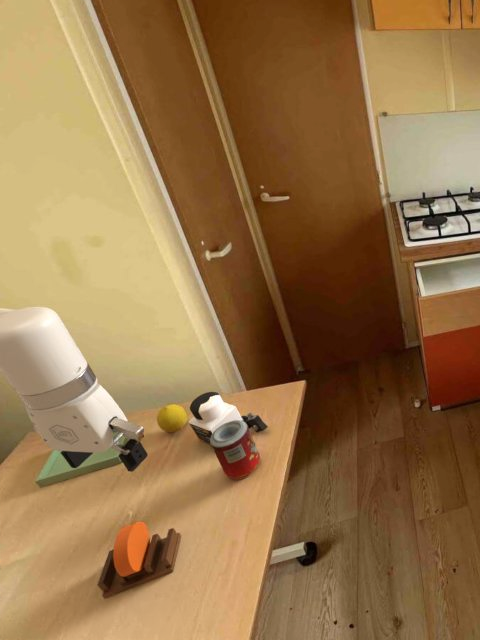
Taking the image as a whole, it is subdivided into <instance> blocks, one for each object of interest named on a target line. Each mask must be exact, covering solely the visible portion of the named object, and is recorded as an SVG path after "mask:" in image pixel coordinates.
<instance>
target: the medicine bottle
mask: <svg viewBox="0 0 480 640" xmlns="http://www.w3.org/2000/svg"><path fill="white" fill-rule="evenodd" d="M189 411H190V412H191V414H192V415H193V417H192V418H191V419H189V420H188V424H189V426H190V427H191V429H192V430H193V432H194V434H195V435H196V437H197V438H198V440H199V441H201V442H203V443H206V444H209V445H211V444H210V438H211V435H212V434H213V432H214V431H215V430H216V429H217V428H218V427H220V426H221V425H223V424H225V423H227V422H230V421H235V420H240V421H242V420H243V419H242V417H241V416H242V415H241V414H240V412H239V410H238V408H237V406H235V405H233V404H231V403H227V402H225V401H224V400H223V398H222V396H221V395H220V393H219V392H217V391H207V392H204V393H202V394H200V395H198V396H196V397H195V398H194V399H193V400H192V402H191V403H190V405H189Z"/></svg>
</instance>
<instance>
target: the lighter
mask: <svg viewBox="0 0 480 640" xmlns="http://www.w3.org/2000/svg"><path fill="white" fill-rule="evenodd" d="M240 416H241V417H242V419H243V420H242V421H244V422H245V423H246V424H247V425H248V428H249V430H250V429H253V430H254V431H255V432H256V433H261V432H264V431H265V430H267V428H268V427H269V426H268V425H267V424H266V423H265V422H264V421H263V420H262V418H261V417H260V416H259V414H255V415H254V413H252V412H249V413H248V414H247V415H240Z"/></svg>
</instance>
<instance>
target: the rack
mask: <svg viewBox="0 0 480 640" xmlns="http://www.w3.org/2000/svg"><path fill="white" fill-rule="evenodd" d="M181 537H182V535H181V532H177V531H176V529H175V528H174V527H172V528H169V529H168V531H167V535H166V536H165V537H163V538H161V537H160V535H159V533H155V534H152V536H151V538H150V546H149V550H148V554H147V557H146V561H145V564H144V568H143V569H142V570H141V571H139V572H136V573H133V574H131V575H128V576H125V577H122V576H120V575H119V574H118V573H117V571H116V569H115V565H114V559H113V551H114V548H113V549H111V550H109V551H108V553H107V555H106V559H105V561H104V565H103V568H102V570H101V573H100V576H99V578H98V581H97V584H96V585H97V586H98V588H99V589H100V590H101V591H102V594H101V597H102V598H103V599H107V598H110V597H112V596H115V595H117V594H120V593H121V592H122V593H123V592H124V591H128V590H130V589H131V588H132V589H133V588H135V587H138V586H140V585H142V584H146V583H147V582H150V581H152V580H156V579H159V578H160V577H163V576H166V575H169V574H171V573H173V572H174V569H175V566H176V561H177V555H178V551H179V547H180V543H181Z"/></svg>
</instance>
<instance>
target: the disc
mask: <svg viewBox="0 0 480 640" xmlns="http://www.w3.org/2000/svg"><path fill="white" fill-rule="evenodd" d="M150 543H151V535H150V532H149V528H148V527H147V525H146V523H144V522H143V521H137V522H134V523H131V524H128V525H125V526H123V527H122V528H121V529H120V530H119V531H118V533H117V535H116V538H115V541H114V545H113V549H114V551H113V559H114V565H115V569H116V571H117V573H118V574H119V575H120V576H122V577H125V576H128V575H131V574H133V573H136V572H139V571H141V570H142V569H143V568H144V564H145V561H146V557H147V554H148V550H149V546H150Z"/></svg>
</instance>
